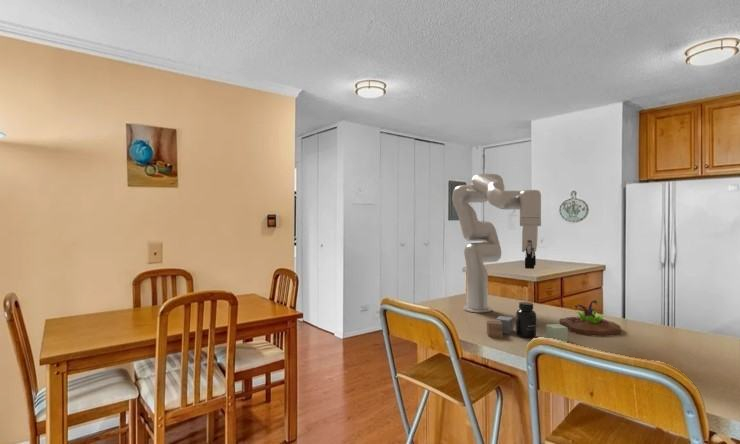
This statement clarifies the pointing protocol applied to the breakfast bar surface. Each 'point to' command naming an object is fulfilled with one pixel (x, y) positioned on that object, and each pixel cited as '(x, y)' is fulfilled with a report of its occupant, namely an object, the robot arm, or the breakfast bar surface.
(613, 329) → the plant
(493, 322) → the walnut cube
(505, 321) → the slate cube
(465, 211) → the robot arm
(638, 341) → the breakfast bar surface
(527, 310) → the supplement bottle
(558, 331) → the sage cube
